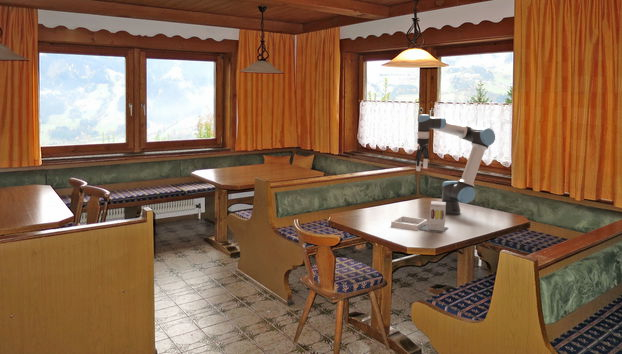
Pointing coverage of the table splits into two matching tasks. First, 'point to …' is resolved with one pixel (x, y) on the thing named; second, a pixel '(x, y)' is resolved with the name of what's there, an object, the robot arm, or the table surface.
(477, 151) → the robot arm
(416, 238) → the table surface
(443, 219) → the supplement box
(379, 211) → the table surface
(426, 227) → the charcoal mat
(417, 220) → the beige square tray
